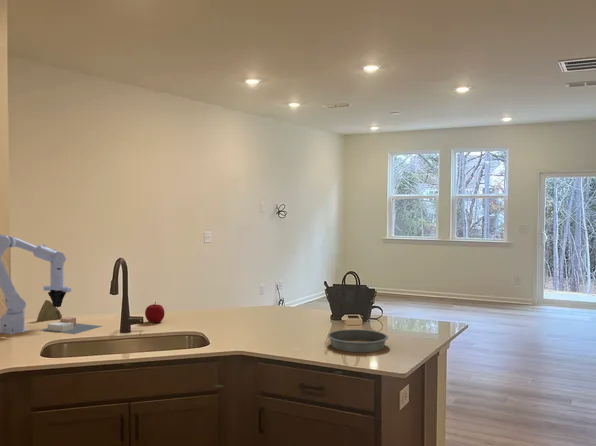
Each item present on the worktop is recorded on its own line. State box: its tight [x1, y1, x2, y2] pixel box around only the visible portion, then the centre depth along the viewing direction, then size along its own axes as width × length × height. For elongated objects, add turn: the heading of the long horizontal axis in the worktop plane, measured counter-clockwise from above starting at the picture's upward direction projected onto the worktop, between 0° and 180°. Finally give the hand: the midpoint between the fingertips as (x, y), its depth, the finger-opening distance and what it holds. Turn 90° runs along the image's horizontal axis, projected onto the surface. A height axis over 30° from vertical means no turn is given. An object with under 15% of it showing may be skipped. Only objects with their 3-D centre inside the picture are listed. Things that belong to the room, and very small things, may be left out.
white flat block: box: [47, 321, 73, 332], centre depth 252 cm, size 6×9×3 cm, turn 69°
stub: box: [59, 316, 77, 327], centre depth 258 cm, size 4×5×4 cm
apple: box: [144, 301, 165, 324], centre depth 273 cm, size 9×9×10 cm
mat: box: [40, 323, 103, 335], centre depth 255 cm, size 18×20×1 cm
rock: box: [36, 299, 63, 322], centre depth 274 cm, size 11×9×10 cm
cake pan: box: [327, 328, 389, 353], centre depth 228 cm, size 25×25×4 cm
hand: (57, 306), depth 260 cm, fingers closed
